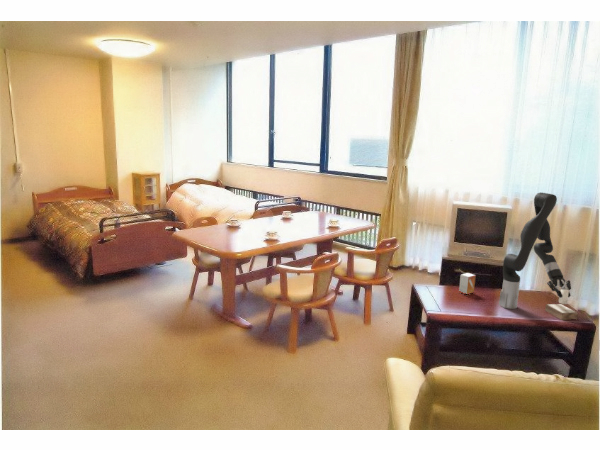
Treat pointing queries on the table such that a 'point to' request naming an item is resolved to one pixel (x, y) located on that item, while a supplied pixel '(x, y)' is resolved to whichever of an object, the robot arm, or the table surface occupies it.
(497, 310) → the table surface
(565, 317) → the dock
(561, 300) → the canister
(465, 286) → the small box
